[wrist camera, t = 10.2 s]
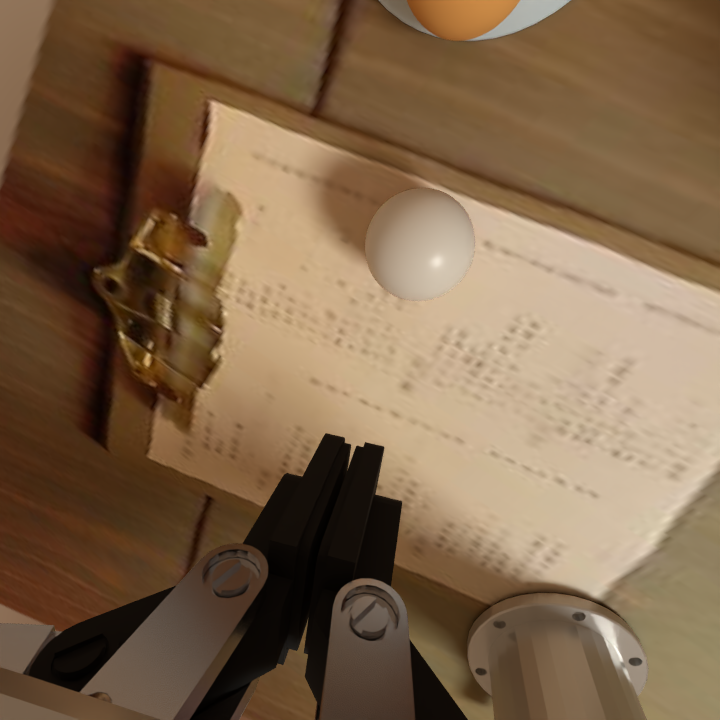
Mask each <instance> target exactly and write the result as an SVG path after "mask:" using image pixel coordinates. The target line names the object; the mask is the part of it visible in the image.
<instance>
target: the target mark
mask: <svg viewBox="0 0 720 720" xmlns="http://www.w3.org/2000/svg"><path fill="white" fill-rule="evenodd" d="M378 1H379V2H380V3H381V4H382V5H383V6H384V7H385V8H386V9H387V10H388V11H389V12H390V13H392V14H393V15H394V16H396V17H397V18H398V19H399V20H401V21H402V22H403V23H405V24H407V25H409V26H411V27H413V28H414V29H416V30H418V31H420V32H423V33H426V34H428V35H431V36H434V37H437V38H440V37H438V36H436V35H434V34H432V33H431V32H429V31H428V30H427V29H426V28H424V27H423V26H422V25H421V23H420V22H419V21H418V20H417V19H416V17H415V16H414V15H413V13H412V11H411V9H410V7H409V5H408V2H407V0H378ZM570 1H571V0H520V1H519V3H518V4H517V6H516V7H515V8H514V9H513V11H512V12H511V13H510V14H509V15H508V16H507V17H506V18H505V19H504V20H503V21H502V22H501V23H500V24H499V25H498V26H496V27H495V28H494V29H492V30H491V31H489V32H487V33H485V34H483V35H481V36H479V37H476V38H474V39H470V40H464V41H480V40H488V39H495V38H499V37H502V36H506V35H509V34H513V33H516V32H518V31H520V30H523V29H525V28H527V27H530V26H532V25H534V24H536V23H538V22H540V21H541V20H543V19H545V18H546V17H548V16H550V15H552V14H553V13H555V12H556V11H558V10H559V9H560V8H562V7H563V6H564V5H566V4H567V3H568V2H570ZM442 39H443V38H442Z"/></svg>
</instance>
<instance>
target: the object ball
mask: <svg viewBox="0 0 720 720" xmlns="http://www.w3.org/2000/svg"><path fill="white" fill-rule="evenodd" d="M519 1H520V0H407V2H408V5H409V7H410V9H411V11H412V13H413V15H414V16H415V17H416V19H417V20H418V21H419V22H420V23H421V25H422V26H423V27H424V28H426V29H427V30H428V31H429V32H431V33H432V34H434V35H436V36H438V37H440V38H443V39H446V40H452V41H464V40H470V39H474V38H476V37H479V36H481V35H483V34H485V33H487V32H489V31H491V30H492V29H494V28H495V27H496V26H498V25H499V24H500V23H501V22H502V21H503V20H504V19H505V18H506V17H507V16H508V15H509V14H510V13H511V12H512V11H513V9H514V8H515V7H516V6H517V4H518V3H519Z"/></svg>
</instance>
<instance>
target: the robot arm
mask: <svg viewBox="0 0 720 720" xmlns="http://www.w3.org/2000/svg"><path fill="white" fill-rule="evenodd" d="M350 450H351V444H347V443H345V438H344V437H340V436H335V435H331V434H327V433H326V434H325V435H324V437H323V439H322V441H321V443H320V444H319V446H318V448H317V450H316V452H315V454H314V456H313V458H312V460H311V462H310V463H309V465H308V467H307V469H306V471H305V473H304V475H303V477H301V476H297V475H293V474H289V473H286V474H285V475H284V476H283V477H282V479H281V481H280V482H279V484H278V486H277V487H276V489H275V491H274V492H273V494H272V496H271V497H270V499H269V501H268V502H267V504H266V506H265V507H264V509H263V511H262V512H261V514H260V516H259V517H258V519H257V521H256V522H255V524H254V526H253V527H252V529H251V531H250V532H249V534H248V536H247V537H246V539H245V541H244V542H243V544H227V545H223V546H220V547H218V548H216V549H214V550H212V551H210V552H209V553H207V554H206V555H205V556H204V557H203V558H202V559H201V560H200V561H199V562H198V563H197V564H196V565H195V566H194V567H193V568H192V569H191V571H190V572H189V573H188V574H187V575H186V576H185V577H184V578H183V579H182V580H181V582H180V583H179V584H178V585H177V586H174V587H171V588H169V589H166V590H164V591H161V592H158V593H156V594H153V595H151V596H148V597H145V598H143V599H140V600H138V601H135V602H132V603H130V604H127V605H124V606H122V607H119V608H117V609H114V610H111V611H109V612H106V613H104V614H101V615H98V616H96V617H93V618H91V619H88V620H85V621H83V622H80V623H78V624H76V625H74V626H72V627H70V628H68V629H66V630H64V631H63V632H56V631H55V628H54V625H32V624H8V623H0V720H239V719H240V717H241V715H242V713H243V711H244V710H245V708H246V706H247V704H248V702H249V700H250V699H251V697H252V695H253V693H254V691H255V689H256V687H257V684H258V681H259V678H260V676H262V675H264V674H265V673H267V672H269V671H271V670H272V669H274V668H276V665H277V663H278V664H282V665H283V664H284V662H285V659H286V656H287V653H288V650H289V649H292V650H296V651H297V650H298V647H299V645H300V642H301V639H302V636H303V632H304V629H305V626H306V623H307V620H308V626H307V634H306V641H305V648H304V653H305V654H308V659H307V666H306V673H305V678H306V680H307V682H308V684H309V686H310V688H311V690H312V693H313V695H314V697H315V699H316V701H317V705H316V712H315V720H468V719H467V718H466V717H465V715H464V714H463V712H462V711H461V710H460V708H459V707H458V705H457V704H456V703H455V701H454V700H453V699H452V697H451V696H450V694H449V693H448V692H447V690H446V689H445V688H444V686H443V685H442V683H441V682H440V681H439V679H438V678H437V677H436V675H435V674H434V672H433V671H432V670H431V668H430V667H429V666H428V664H427V663H426V661H425V660H424V659H423V657H422V656H421V655H420V653H419V652H418V650H417V649H416V648H415V646H414V645H413V644H412V642H411V641H410V639H409V627H408V615H407V611H406V607H405V604H404V602H403V601H402V599H401V597H400V595H399V594H398V593H397V592H396V591H395V590H394V589H393V588H392V587H391V580H392V573H393V566H394V559H395V551H396V544H397V537H398V530H399V522H400V515H401V508H402V501H399V500H394V499H390V498H386V497H382V496H378V495H375V493H376V488H377V483H378V478H379V473H380V467H381V462H382V457H383V452H384V447H383V446H379V445H375V444H370V443H366V442H365V444H364V447H360V446H356V449H355V451H354V454H353V457H352V460H351V462H350V465H349V468H348V463H349V456H350ZM347 469H348V471H347ZM308 617H309V619H308ZM467 655H468V662H469V667H470V670H471V672H472V674H473V676H474V678H475V679H476V681H477V682H478V683H479V685H480V686H481V687H482V688H483V689H484V690H485V691H486V692H487V693H488V694H489V695H490V696H491V697H492V700H493V710H494V720H647V719H646V717H645V714H644V712H643V709H642V707H641V704H640V702H639V699H638V697H637V696H638V695H639V694H640V693H641V692H642V690H643V688H644V686H645V684H646V681H647V677H648V669H649V668H648V663H647V657H646V654H645V652H644V650H643V648H642V645H641V643H640V641H639V639H638V637H637V636H636V634H635V633H634V631H633V630H632V628H631V627H630V626H629V625H628V624H627V623H626V622H625V621H624V620H623V619H622V618H621V617H619V616H618V615H616V614H615V613H613V612H612V611H610V610H609V609H607V608H605V607H603V606H601V605H598V604H596V603H594V602H592V601H589V600H585V599H582V598H579V597H575V596H570V595H564V594H558V593H534V594H525V595H520V596H516V597H512V598H509V599H506V600H504V601H501V602H499V603H497V604H495V605H493V606H491V607H490V608H489V609H487V610H486V611H484V612H483V613H482V614H481V615H480V616H479V617H478V618H477V619H476V621H475V622H474V623H473V625H472V627H471V629H470V631H469V635H468V640H467Z"/></svg>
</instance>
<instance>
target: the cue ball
mask: <svg viewBox="0 0 720 720" xmlns="http://www.w3.org/2000/svg"><path fill="white" fill-rule="evenodd" d="M474 252H475V233H474V228H473V225H472V222H471V219H470V217H469V215H468V214H467V212H466V211H465V209H464V208H463V207H462V206H461V204H460V203H459V202H457V201H456V200H455V199H454V198H453V197H451V196H449V195H448V194H446V193H444V192H441V191H439V190H435V189H430V188H415V189H409V190H406V191H403V192H400V193H398V194H396V195H394V196H393V197H391V198H390V199H388V200H387V201H386V202H385V203H384V204H383V205H382V206H381V207H380V208H379V209H378V210H377V212H376V213H375V215H374V216H373V218H372V220H371V222H370V224H369V227H368V230H367V233H366V238H365V255H366V261H367V264H368V267H369V269H370V271H371V273H372V275H373V277H374V278H375V280H376V281H377V282H378V284H379V285H380V286H381V287H382V288H384V289H385V290H386V291H387V292H389V293H390V294H392V295H394V296H396V297H398V298H401V299H404V300H409V301H427V300H432V299H435V298H438V297H440V296H443V295H445V294H446V293H448V292H449V291H451V290H452V289H453V288H454V287H456V286H457V285H458V284H459V283H460V282H461V281H462V279H463V278H464V276H465V275H466V273H467V271H468V270H469V268H470V266H471V263H472V260H473V257H474Z"/></svg>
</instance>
